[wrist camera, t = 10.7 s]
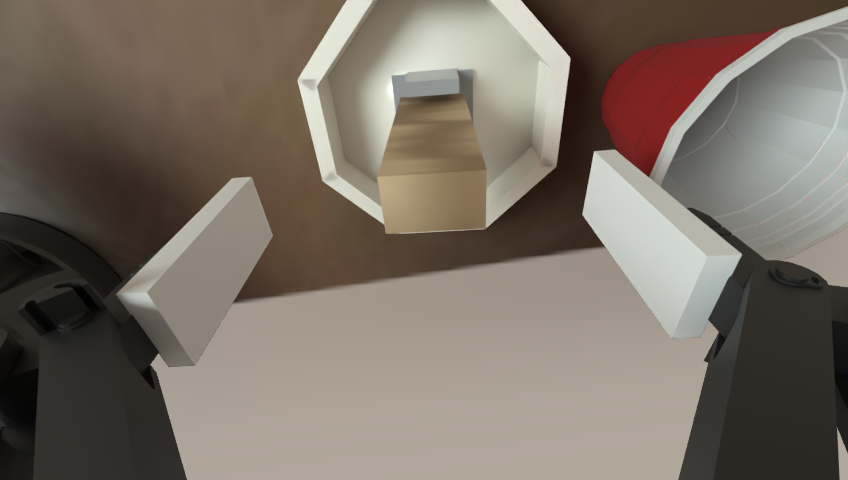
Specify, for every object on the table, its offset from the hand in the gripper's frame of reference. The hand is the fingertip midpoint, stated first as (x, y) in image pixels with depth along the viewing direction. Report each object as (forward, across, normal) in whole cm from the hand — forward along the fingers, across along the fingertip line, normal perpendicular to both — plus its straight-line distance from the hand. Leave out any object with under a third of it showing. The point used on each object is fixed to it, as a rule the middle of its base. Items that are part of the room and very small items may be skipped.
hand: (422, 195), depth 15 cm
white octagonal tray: (+12, +1, 0) cm, 13 cm away
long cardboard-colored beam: (+11, +1, 0) cm, 11 cm away
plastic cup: (+12, +15, 0) cm, 19 cm away
